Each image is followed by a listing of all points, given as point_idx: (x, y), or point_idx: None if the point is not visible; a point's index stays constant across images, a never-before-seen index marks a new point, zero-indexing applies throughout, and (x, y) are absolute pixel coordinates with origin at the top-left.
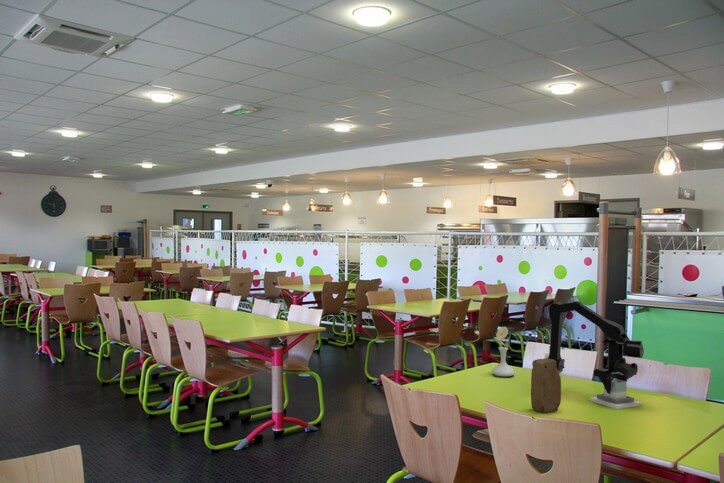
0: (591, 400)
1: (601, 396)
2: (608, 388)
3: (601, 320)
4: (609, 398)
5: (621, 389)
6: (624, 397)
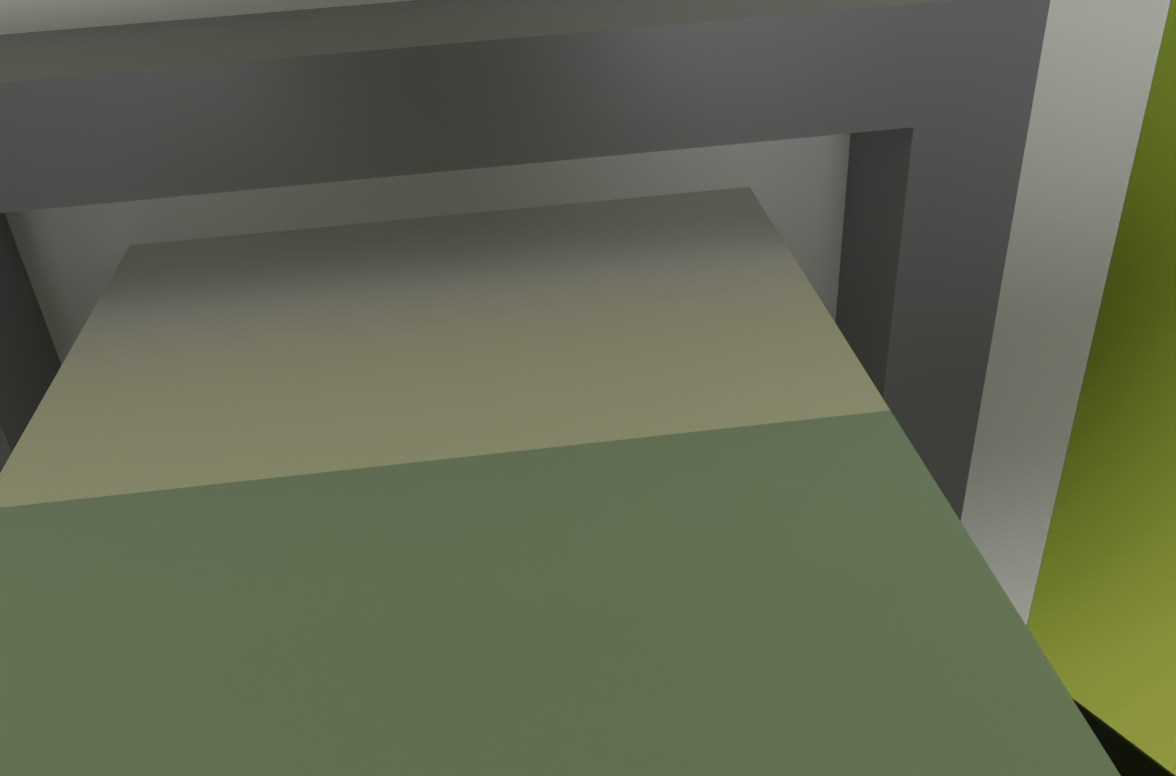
0: None
1: None
2: (1120, 767)
3: None
4: (980, 367)
5: (417, 562)
6: (217, 313)
